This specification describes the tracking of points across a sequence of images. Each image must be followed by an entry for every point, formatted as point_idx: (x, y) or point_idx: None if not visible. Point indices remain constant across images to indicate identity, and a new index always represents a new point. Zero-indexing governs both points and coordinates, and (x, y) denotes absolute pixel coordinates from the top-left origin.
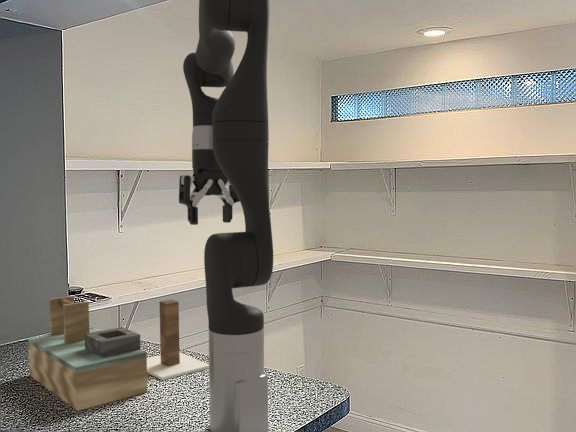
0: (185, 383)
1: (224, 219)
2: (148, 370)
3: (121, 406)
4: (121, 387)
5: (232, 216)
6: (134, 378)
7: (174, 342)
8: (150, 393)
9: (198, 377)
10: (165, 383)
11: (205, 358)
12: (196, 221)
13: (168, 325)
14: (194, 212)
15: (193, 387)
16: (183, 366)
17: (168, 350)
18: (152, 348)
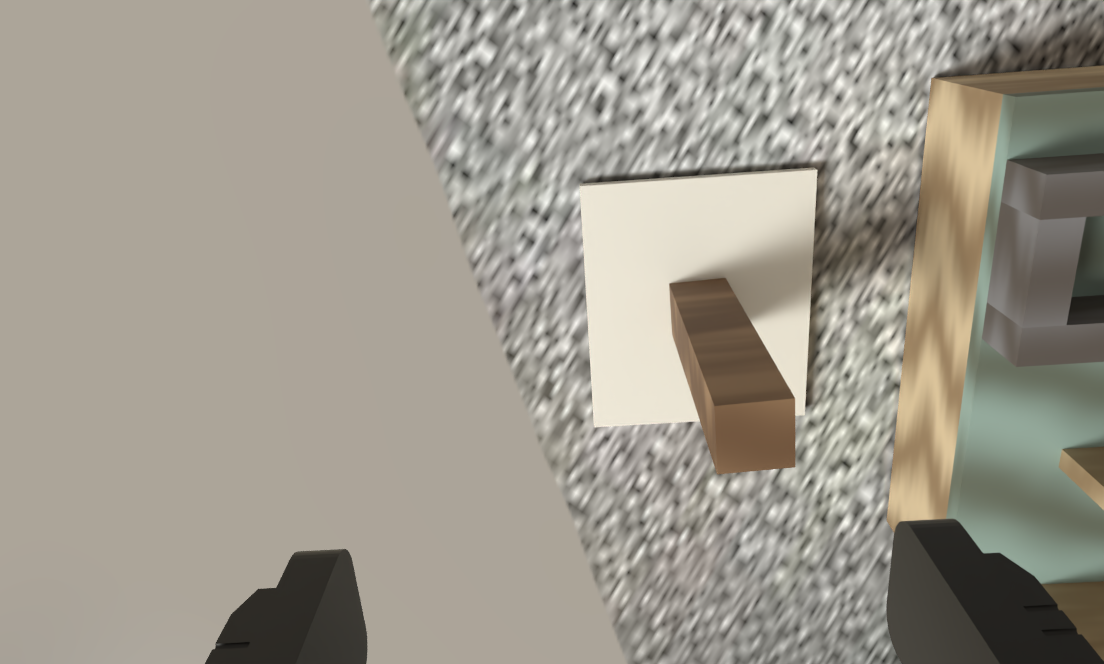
0: (755, 84)
1: (352, 649)
2: (810, 281)
3: (1080, 5)
4: (1070, 73)
5: (225, 625)
6: (1023, 80)
7: (708, 315)
8: (922, 67)
9: (675, 117)
10: (815, 137)
11: (526, 313)
12: (946, 535)
13: (758, 346)
14: (1042, 658)
15: (757, 18)
16: (676, 240)
17: (735, 300)
18: (631, 540)
